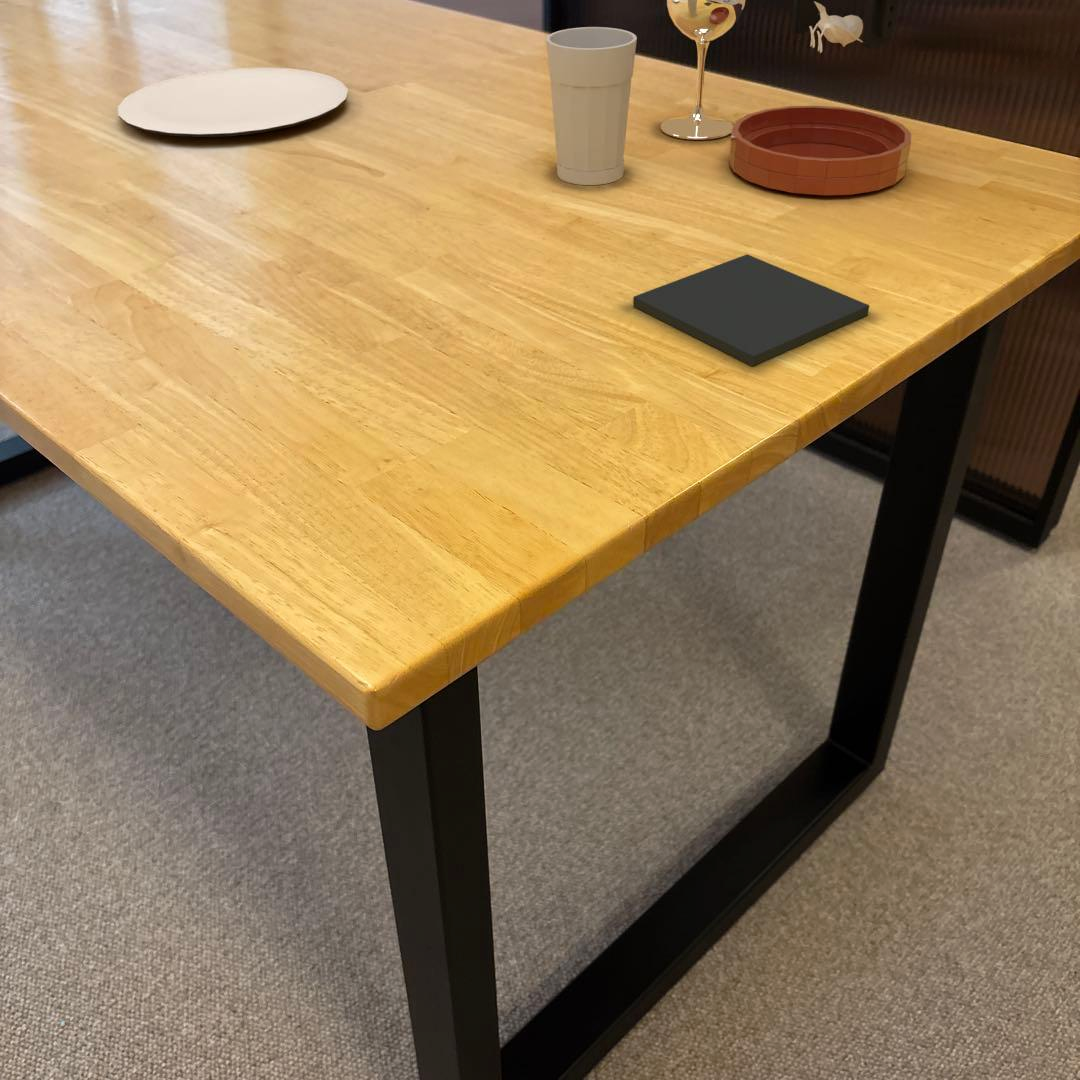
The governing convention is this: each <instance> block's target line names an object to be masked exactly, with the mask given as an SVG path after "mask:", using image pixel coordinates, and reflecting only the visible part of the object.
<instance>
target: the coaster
mask: <svg viewBox="0 0 1080 1080" xmlns="http://www.w3.org/2000/svg"><path fill="white" fill-rule="evenodd" d="M632 298H633V299H632V300H633V301H632V306H633V307H634V308H636V309H638V310H640V311H641V312H644V313H646V314H648V315H649V316H652V317H654V318H655V319H658V320H660V321H661V322H663V323H666V324H667V325H670V326H672V327H674V328H675V329H677V330H679V331H682V332H683V333H685V334H687V335H689V336H691V337H693V338H695V339H697V340H699V341H701V342H703V343H705V344H707V345H709V346H712V347H713V348H715V349H717V350H719V351H720V352H723V353H725V354H727V355H729V356H731V357H733V358H735V359H736V360H739V361H740V362H743V363H744V364H747V365H749V366H751V367H755V366H757V365H759V364H761V363H764V362H766V361H768V360H770V359H772V358H775V357H777V356H779V355H781V354H784V353H786V352H788V351H790V350H793V349H795V348H797V347H799V346H802V345H804V344H806V343H808V342H810V341H813V340H816V339H817V338H820V337H822V336H824V335H826V334H828V333H831V332H834V331H835V330H838V329H839V328H842V327H844V326H847V325H849V324H851V323H853V322H856V321H858V320H860V319H862V318H864V317H867V316H868V315H869V310H870V305H869V304H867V303H865V302H863V301H860V300H858V299H856V298H853V297H850V296H848V295H846V294H843V293H841V292H839V291H836V290H834V289H832V288H830V287H826V286H824V285H822V284H819V283H818V282H815V281H813V280H811V279H808V278H805V277H803V276H800V275H798V274H795V273H793V272H791V271H788V270H786V269H783V268H781V267H778V266H776V265H774V264H771V263H769V262H767V261H765V260H762V259H760V258H757V257H754V256H752V255H750V254H748V253H747V254H744V255H741V256H738V257H736V258H733V259H730V260H727V261H725V262H722V263H720V264H717V265H714V266H711V267H709V268H706V269H704V270H701V271H699V272H695V273H693V274H690V275H688V276H685V277H683V278H680V279H677V280H675V281H671V282H668V283H666V284H664V285H661V286H658V287H656V288H653V289H650V290H647V291H645V292H642V293H640V294H636V295H634V296H633V297H632Z"/></svg>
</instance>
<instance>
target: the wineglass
mask: <svg viewBox="0 0 1080 1080" xmlns="http://www.w3.org/2000/svg"><path fill="white" fill-rule="evenodd" d="M746 3H747V0H665V4H666V9H667V12H668V16H669V18H670V20H671V21H672V23H673V25H674V26H675V27H676V28H677V29H678V30H679V31H680V33H682V34H683V35H685V36H686V37H687V38H688V39H690V40H693V41H695V43H696V49H697V50H696V51H697V72H696V88H695V103H694V106H693V110H692V112H691V113H690V114H689V115H688V114H687V115H679V116H673V117H671V118H668V119H666V120H664V121H663V122H662V123H661V125H660V130H661V131H662V133H664V134H665V135H667V136H670V137H673V138H676V139H681V140H688V141H708V140H709V141H710V140H717V139H721V138H725V137H727V136H729V135H730V134H731V132H732V128H733V126H734V124H732V122H730V121H729V120H727V119H724V118H722V117H717V116H712V115H706V113H705V112H704V111H705V110H704V107H703V98H704V83H705V82H704V81H705V70H706V59H707V54H708V49H709V46H710V43H711V42H712V41H714V40H717V39H718V38H720V37H722V36H724V35H725V34H726V33H727V32H728V31H729V30H730V29H731V28H733V27H734V26H735V25H736V23H737V22H738V20H739V19H740V17H741V16H742V14H743V11H744V9H745V6H746Z"/></svg>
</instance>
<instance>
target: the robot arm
mask: <svg viewBox="0 0 1080 1080" xmlns="http://www.w3.org/2000/svg"><path fill="white" fill-rule="evenodd" d="M814 1H815V2H817V3H819V4H821V5H822V6H823V0H793V1H792V15H791V27H790V31H791V33H792V34H803V33H806V32H811V31H810V27H809V26H811V27H812V29H814V28H815V26H816V24H817V23H818V22H819V21H820V20H821V17H820V11H819V9H818V8H817V6H816V4H815V2H814ZM899 3H900V0H867V6H866V14H865V21H864V27H863V28H864V29H863V36H862V41H863V42H862V46H863V48H867V49H874V48H877V47H881V46H885V45H888V44H890V43H892V40H893V35H894V32H895V30H896V24H897V17H898V10H899ZM818 13H819V14H818ZM818 28H819V27H818V26H817V28H816V29H815V30H817V29H818Z"/></svg>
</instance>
